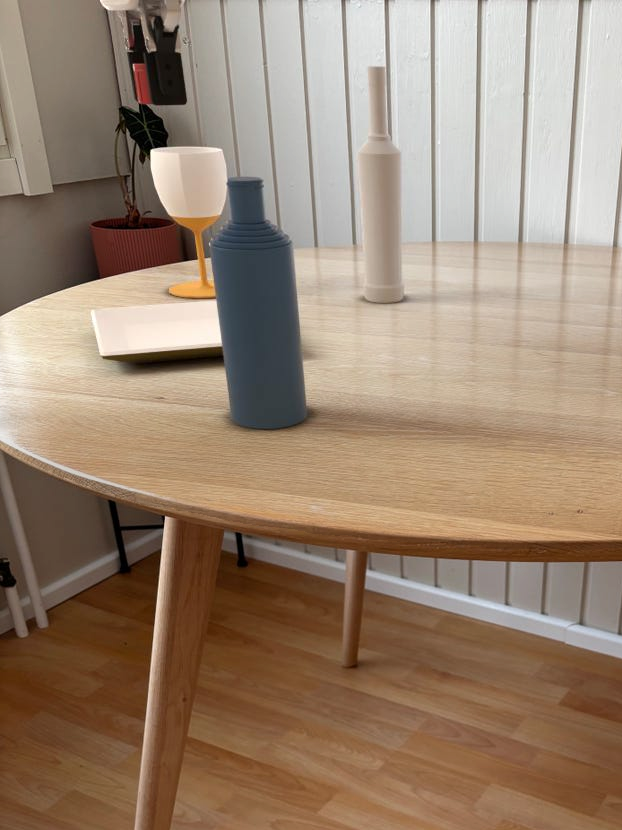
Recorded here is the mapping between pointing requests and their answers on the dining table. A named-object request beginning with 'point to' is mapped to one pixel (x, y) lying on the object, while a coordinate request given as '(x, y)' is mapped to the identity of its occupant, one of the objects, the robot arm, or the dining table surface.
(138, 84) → the cap
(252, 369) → the water bottle
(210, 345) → the plate
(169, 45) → the robot arm
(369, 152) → the bottle
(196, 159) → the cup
